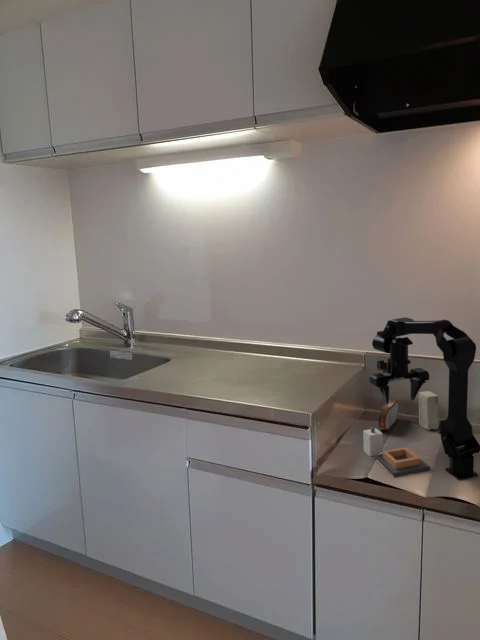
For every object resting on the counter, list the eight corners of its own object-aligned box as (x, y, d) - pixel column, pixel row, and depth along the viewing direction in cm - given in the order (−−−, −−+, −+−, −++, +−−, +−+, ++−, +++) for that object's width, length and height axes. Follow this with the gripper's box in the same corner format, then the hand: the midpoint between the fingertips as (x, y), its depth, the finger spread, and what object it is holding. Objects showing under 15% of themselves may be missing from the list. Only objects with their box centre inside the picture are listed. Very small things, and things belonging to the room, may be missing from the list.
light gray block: (382, 454, 165) (382, 429, 163) (370, 456, 164) (369, 431, 162) (376, 448, 169) (375, 423, 168) (363, 450, 168) (363, 426, 167)
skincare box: (439, 429, 180) (439, 396, 178) (427, 431, 180) (427, 397, 177) (429, 422, 186) (429, 390, 184) (418, 424, 186) (418, 391, 183)
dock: (429, 469, 154) (429, 460, 153) (393, 476, 151) (392, 466, 150) (408, 452, 165) (407, 443, 164) (373, 458, 162) (373, 449, 162)
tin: (391, 417, 193) (391, 396, 192) (399, 419, 191) (399, 397, 190) (377, 432, 181) (377, 410, 179) (386, 434, 179) (386, 411, 178)
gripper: (412, 347, 178) (412, 391, 181) (361, 354, 175) (362, 398, 178) (430, 355, 168) (430, 401, 171) (376, 362, 164) (377, 409, 167)
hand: (399, 402), depth 172 cm, fingers open, 9 cm apart
